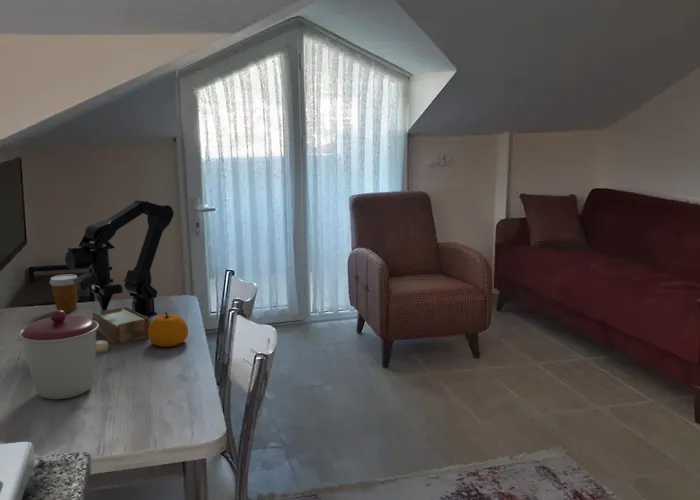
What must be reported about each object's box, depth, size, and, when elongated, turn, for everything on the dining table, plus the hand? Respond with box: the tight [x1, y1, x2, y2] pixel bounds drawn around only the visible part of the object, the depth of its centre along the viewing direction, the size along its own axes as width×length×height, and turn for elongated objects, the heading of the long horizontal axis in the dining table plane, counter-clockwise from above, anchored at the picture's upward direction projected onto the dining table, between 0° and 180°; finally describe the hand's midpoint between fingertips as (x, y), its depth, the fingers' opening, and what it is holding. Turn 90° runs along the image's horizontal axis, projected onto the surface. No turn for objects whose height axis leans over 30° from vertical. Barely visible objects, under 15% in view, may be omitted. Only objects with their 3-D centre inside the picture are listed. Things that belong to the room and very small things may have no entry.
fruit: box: [148, 311, 189, 348], centre depth 204 cm, size 12×12×10 cm
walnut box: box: [91, 306, 150, 346], centre depth 213 cm, size 11×17×6 cm, turn 41°
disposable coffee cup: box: [49, 273, 78, 313], centre depth 240 cm, size 10×10×12 cm
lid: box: [96, 306, 145, 328], centre depth 213 cm, size 9×15×2 cm, turn 41°
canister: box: [18, 309, 99, 400], centre depth 168 cm, size 18×18×21 cm
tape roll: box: [96, 339, 109, 355], centre depth 199 cm, size 5×5×2 cm
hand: (104, 310), depth 223 cm, fingers closed
